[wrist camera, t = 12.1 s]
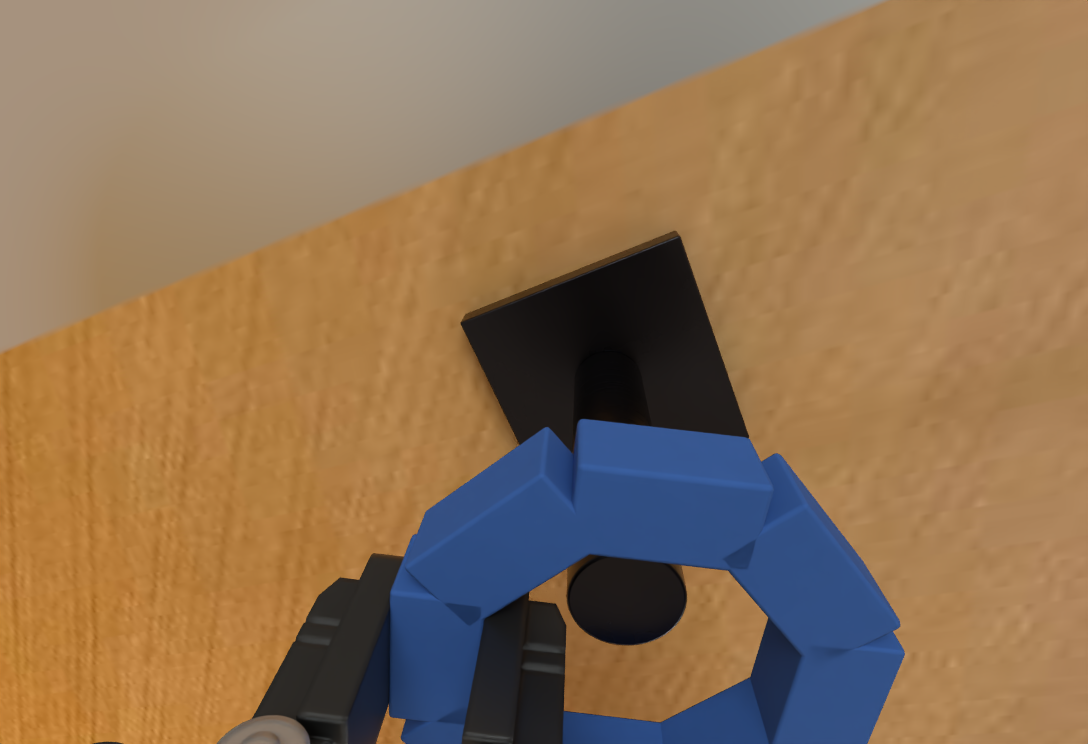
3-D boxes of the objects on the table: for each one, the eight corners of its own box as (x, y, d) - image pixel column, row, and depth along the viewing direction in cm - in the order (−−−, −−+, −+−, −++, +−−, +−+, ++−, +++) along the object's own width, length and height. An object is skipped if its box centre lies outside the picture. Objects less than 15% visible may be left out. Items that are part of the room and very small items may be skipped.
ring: (407, 743, 14) (386, 818, 13) (415, 396, 11) (389, 443, 9) (790, 790, 14) (815, 871, 12) (915, 454, 11) (968, 509, 9)
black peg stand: (464, 314, 23) (356, 502, 12) (676, 229, 22) (770, 358, 11) (549, 490, 26) (523, 774, 15) (743, 426, 24) (875, 692, 13)
